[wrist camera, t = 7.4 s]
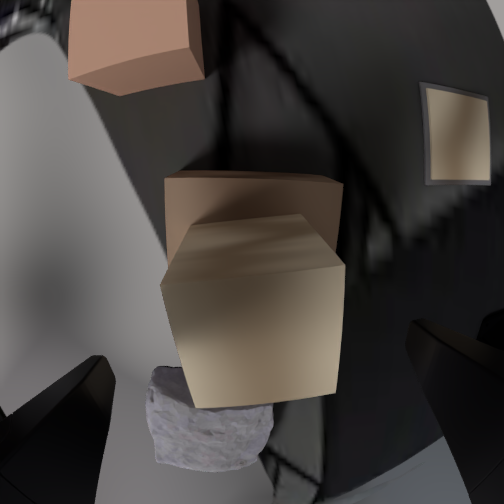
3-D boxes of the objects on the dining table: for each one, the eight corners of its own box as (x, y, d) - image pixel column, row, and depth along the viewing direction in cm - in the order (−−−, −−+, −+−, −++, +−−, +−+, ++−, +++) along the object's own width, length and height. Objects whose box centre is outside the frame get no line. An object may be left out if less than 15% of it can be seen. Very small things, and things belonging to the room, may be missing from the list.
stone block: (269, 353, 23) (141, 359, 20) (290, 398, 19) (140, 408, 16) (251, 433, 28) (156, 439, 25) (264, 469, 23) (159, 479, 21)
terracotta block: (198, 5, 13) (184, -47, 7) (205, 79, 14) (189, 47, 9) (117, 24, 13) (73, -14, 7) (119, 96, 14) (68, 79, 9)
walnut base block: (320, 174, 17) (343, 184, 13) (307, 298, 20) (322, 332, 16) (180, 169, 16) (164, 178, 13) (184, 296, 19) (174, 332, 15)
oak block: (300, 213, 14) (345, 265, 8) (303, 309, 15) (335, 392, 10) (190, 225, 13) (160, 284, 8) (206, 319, 15) (195, 408, 10)
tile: (486, 96, 15) (489, 96, 14) (488, 184, 17) (492, 185, 17) (418, 82, 15) (421, 81, 14) (424, 184, 17) (427, 185, 17)
